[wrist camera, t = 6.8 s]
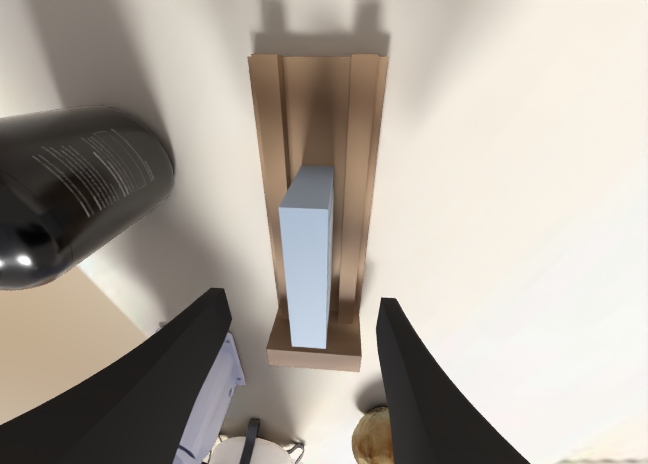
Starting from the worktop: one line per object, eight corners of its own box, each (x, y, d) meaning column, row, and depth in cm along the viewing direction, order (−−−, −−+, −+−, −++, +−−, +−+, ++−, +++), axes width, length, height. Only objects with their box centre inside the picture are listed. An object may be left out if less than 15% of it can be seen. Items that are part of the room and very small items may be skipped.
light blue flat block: (331, 279, 20) (326, 348, 14) (305, 277, 20) (291, 346, 15) (335, 166, 15) (329, 209, 10) (300, 165, 15) (277, 207, 10)
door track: (356, 318, 23) (359, 372, 19) (283, 314, 24) (269, 365, 19) (385, 58, 13) (405, 45, 9) (253, 58, 13) (210, 46, 9)
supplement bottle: (56, 89, 15) (-573, 131, 5) (172, 120, 15) (-175, 219, 5) (89, 193, 18) (-219, 339, 8) (181, 215, 19) (-7, 379, 9)
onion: (426, 407, 30) (450, 501, 24) (388, 430, 34) (399, 517, 27) (374, 387, 29) (383, 481, 22) (341, 414, 33) (339, 500, 26)
